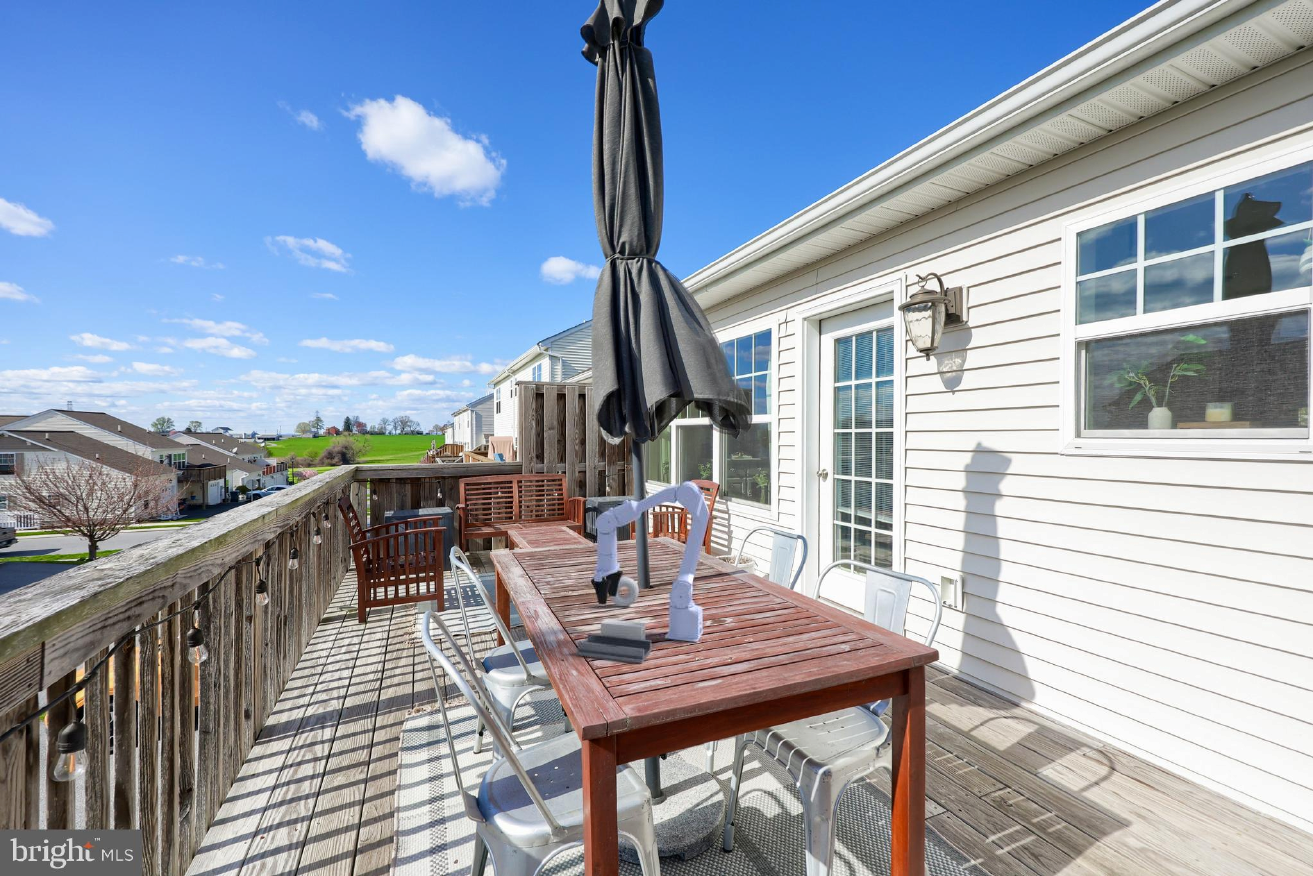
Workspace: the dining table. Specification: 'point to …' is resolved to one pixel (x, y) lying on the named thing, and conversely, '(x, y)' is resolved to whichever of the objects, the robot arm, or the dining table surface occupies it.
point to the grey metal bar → (623, 629)
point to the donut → (631, 595)
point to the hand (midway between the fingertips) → (607, 599)
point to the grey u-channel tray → (615, 648)
